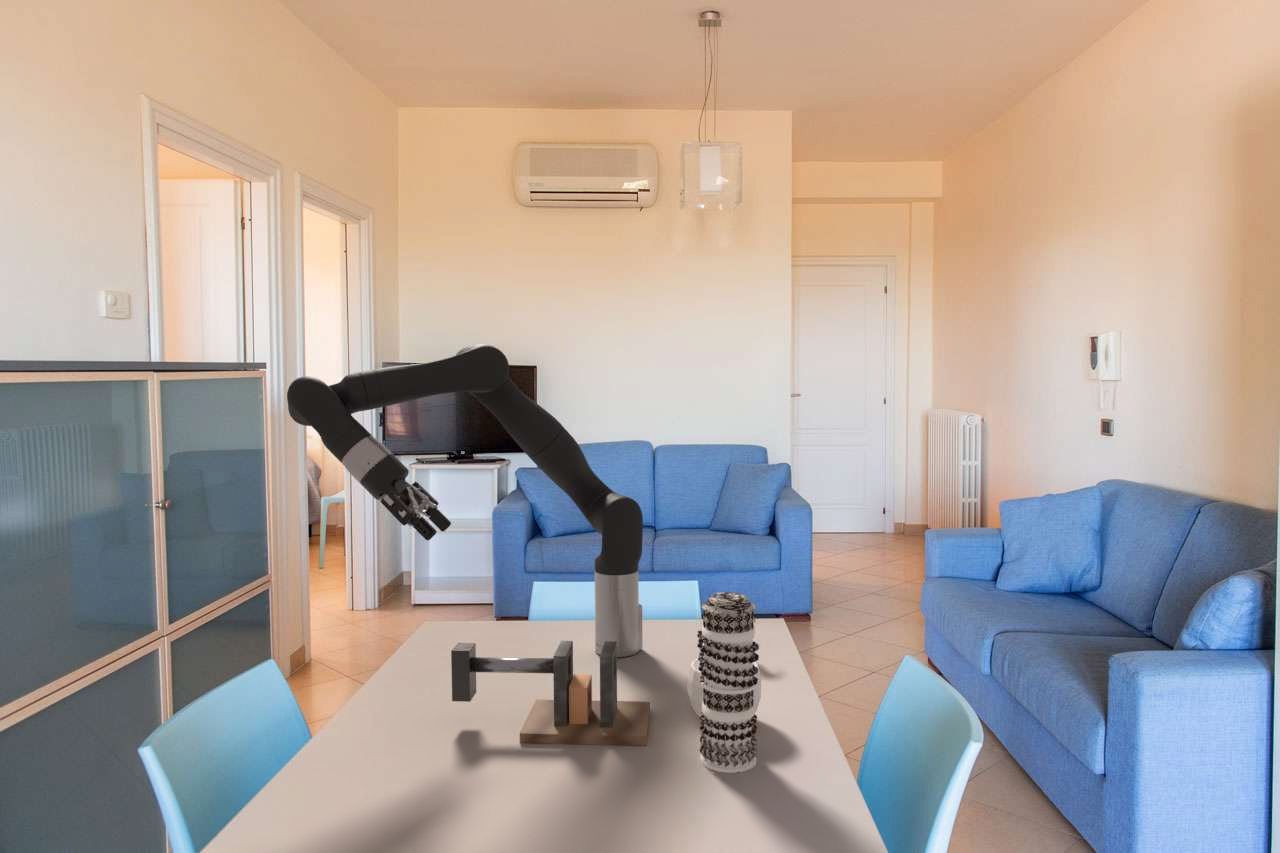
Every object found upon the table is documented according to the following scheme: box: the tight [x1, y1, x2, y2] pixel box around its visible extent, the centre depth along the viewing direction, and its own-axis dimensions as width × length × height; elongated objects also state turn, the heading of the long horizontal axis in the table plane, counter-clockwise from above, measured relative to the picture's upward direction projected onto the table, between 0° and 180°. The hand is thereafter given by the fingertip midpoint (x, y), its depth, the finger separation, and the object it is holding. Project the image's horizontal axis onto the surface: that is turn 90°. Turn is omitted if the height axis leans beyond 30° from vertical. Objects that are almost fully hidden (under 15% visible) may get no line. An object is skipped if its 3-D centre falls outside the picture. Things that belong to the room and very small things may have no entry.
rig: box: [519, 640, 651, 746], centre depth 137 cm, size 20×14×13 cm
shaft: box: [450, 642, 554, 703], centre depth 138 cm, size 18×4×8 cm, turn 86°
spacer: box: [569, 673, 593, 724], centre depth 138 cm, size 3×6×6 cm, turn 177°
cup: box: [687, 656, 762, 718], centre depth 139 cm, size 12×12×10 cm
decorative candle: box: [696, 591, 760, 774], centre depth 124 cm, size 9×9×25 cm
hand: (440, 532), depth 146 cm, fingers open, 8 cm apart
